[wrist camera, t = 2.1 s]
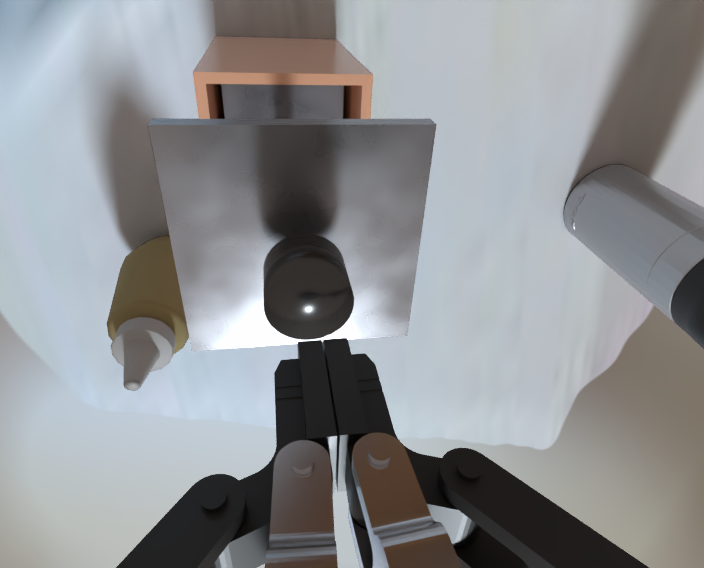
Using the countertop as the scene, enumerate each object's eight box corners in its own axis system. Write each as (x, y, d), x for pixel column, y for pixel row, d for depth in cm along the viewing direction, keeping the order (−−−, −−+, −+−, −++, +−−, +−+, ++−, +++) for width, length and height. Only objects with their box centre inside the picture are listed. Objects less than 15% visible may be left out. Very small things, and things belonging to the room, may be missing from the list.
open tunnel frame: (336, 39, 40) (372, 74, 27) (334, 154, 46) (363, 229, 33) (215, 36, 39) (192, 71, 26) (228, 155, 44) (214, 235, 31)
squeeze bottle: (156, 209, 46) (107, 324, 31) (226, 254, 50) (211, 374, 35) (113, 265, 49) (49, 395, 34) (183, 303, 52) (152, 435, 38)
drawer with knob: (362, 58, 31) (475, 159, 15) (355, 205, 37) (430, 394, 20) (197, 54, 29) (119, 164, 13) (217, 209, 35) (180, 418, 19)
